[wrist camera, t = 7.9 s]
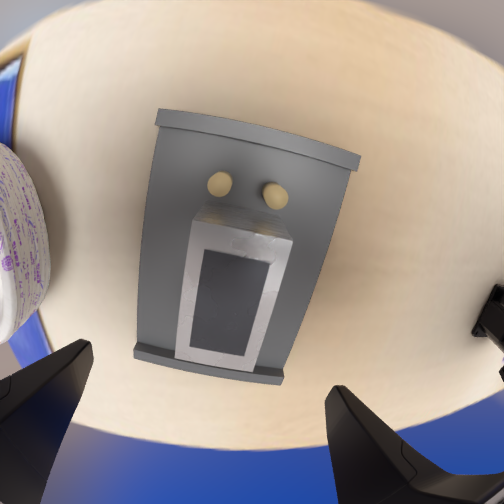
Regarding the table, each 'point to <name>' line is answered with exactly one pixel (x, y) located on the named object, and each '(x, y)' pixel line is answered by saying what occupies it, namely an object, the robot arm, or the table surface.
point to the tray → (240, 195)
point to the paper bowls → (20, 246)
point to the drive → (230, 285)
